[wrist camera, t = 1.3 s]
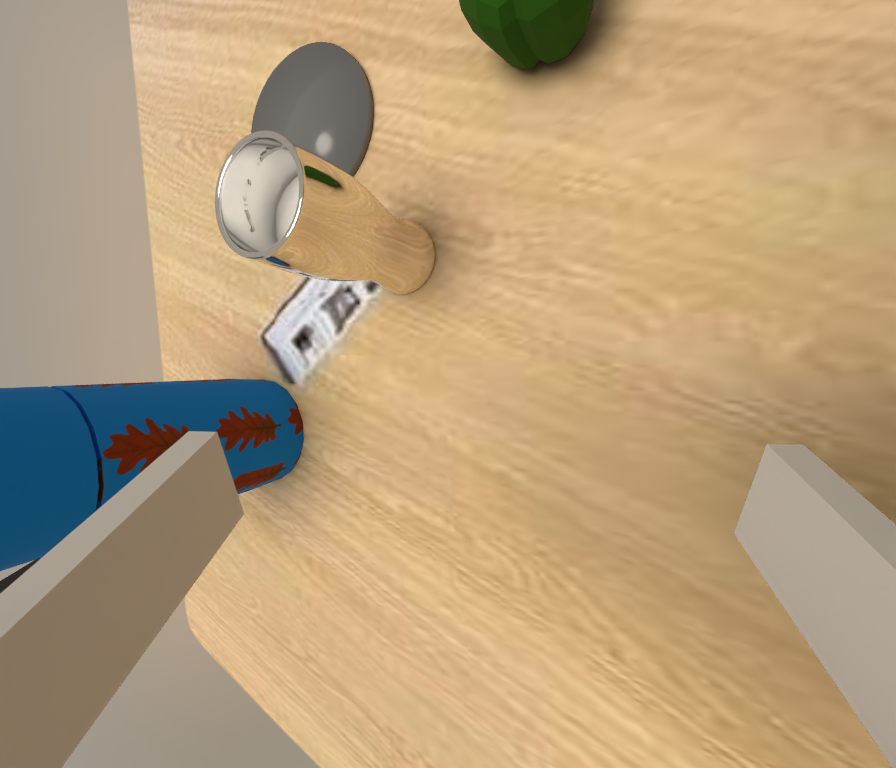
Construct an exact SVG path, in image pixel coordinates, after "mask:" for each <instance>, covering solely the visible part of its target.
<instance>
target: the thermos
mask: <svg viewBox="0 0 896 768" xmlns="http://www.w3.org/2000/svg"><path fill="white" fill-rule="evenodd" d="M188 431H204V432H217V433H218V436H219V439H220V442H221V445H222V448H223V451H224V454H225V457H226V460H227V463H228V466H229V469H230V472H231V475H232V479H233V482H234V485H235V488H236V491H237V494H240V493H243V492H246V491H249V490H252V489H254V488H257V487H259V486H262V485H264V484H267V483H269V482H272V481H275V480H277V479H280V478H282V477H283V476H284V475H286V474H287V473H288V472H290V471H291V470H292V469H293V467H294V466H295V464H296V462H297V460H298V459H299V457H300V453H301V448H302V444H303V426H302V419H301V416H300V413H299V410H298V407H297V405H296V403H295V402H294V400H293V399H292V397H291V396H290V394H289V393H288V392H287V390H285V389H284V388H282V387H281V386H279V385H278V384H277V383H275V382H271V381H265V380H245V379H220V380H196V381H171V382H148V383H147V382H146V383H125V384H124V383H122V384H98V385H74V386H73V385H72V386H52V387H23V388H0V571H2V570H5V569H8V568H11V567H14V566H17V565H20V564H23V563H27V562H30V561H32V560H36V559H38V558H42V557H43V556H44V555H46V554H47V553H48V552H49V551H50V550H51V549H53V548H54V547H55V546H56V545H57V544H58V543H60V542H61V541H62V540H63V539H64V538H65V537H67V536H68V535H69V534H70V533H71V532H72V531H73V530H75V529H76V528H77V527H78V526H79V525H80V524H82V523H83V522H84V521H85V520H86V519H87V518H89V517H90V516H91V515H92V514H93V513H94V512H96V511H97V510H98V509H99V508H100V507H101V506H103V505H104V504H105V503H106V502H107V501H108V500H109V499H111V498H112V497H113V496H114V495H115V494H116V493H118V492H119V491H120V490H121V489H122V488H123V487H125V486H126V485H127V484H128V483H129V482H130V481H132V480H133V479H134V478H135V477H136V476H137V475H139V474H140V473H141V472H142V471H143V470H144V469H145V468H147V467H148V466H149V465H150V464H151V463H152V462H154V461H155V460H156V459H157V458H158V457H159V456H161V455H162V454H163V453H164V452H165V451H166V450H168V449H169V448H170V447H171V446H172V445H173V444H174V443H176V442H177V441H178V440H179V439H180V438H181V437H183V436H184V435H185V434H186V433H187V432H188Z"/></svg>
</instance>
